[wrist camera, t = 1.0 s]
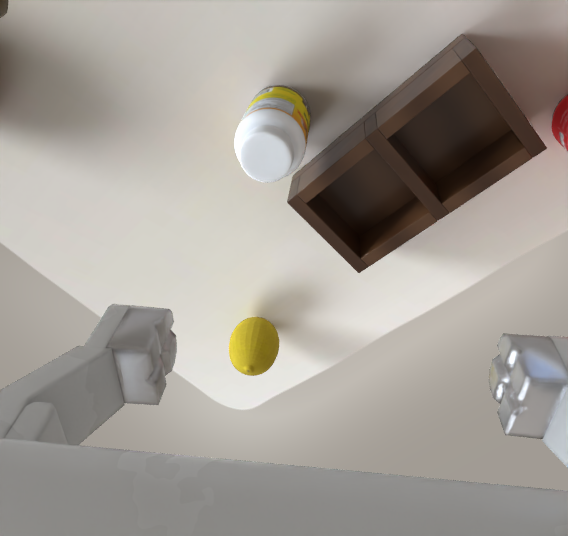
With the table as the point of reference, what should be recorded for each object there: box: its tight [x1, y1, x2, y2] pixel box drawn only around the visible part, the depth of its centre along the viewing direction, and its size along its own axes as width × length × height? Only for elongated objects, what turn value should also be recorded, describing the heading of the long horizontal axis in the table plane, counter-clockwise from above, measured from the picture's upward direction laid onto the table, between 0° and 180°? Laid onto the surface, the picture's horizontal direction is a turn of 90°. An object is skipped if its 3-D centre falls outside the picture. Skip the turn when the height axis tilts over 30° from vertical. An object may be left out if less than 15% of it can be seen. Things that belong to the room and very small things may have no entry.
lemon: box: [229, 317, 279, 376], centre depth 56 cm, size 6×6×8 cm
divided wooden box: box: [287, 34, 547, 273], centre depth 44 cm, size 19×10×6 cm, turn 134°
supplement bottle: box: [234, 85, 310, 183], centre depth 41 cm, size 6×6×10 cm
